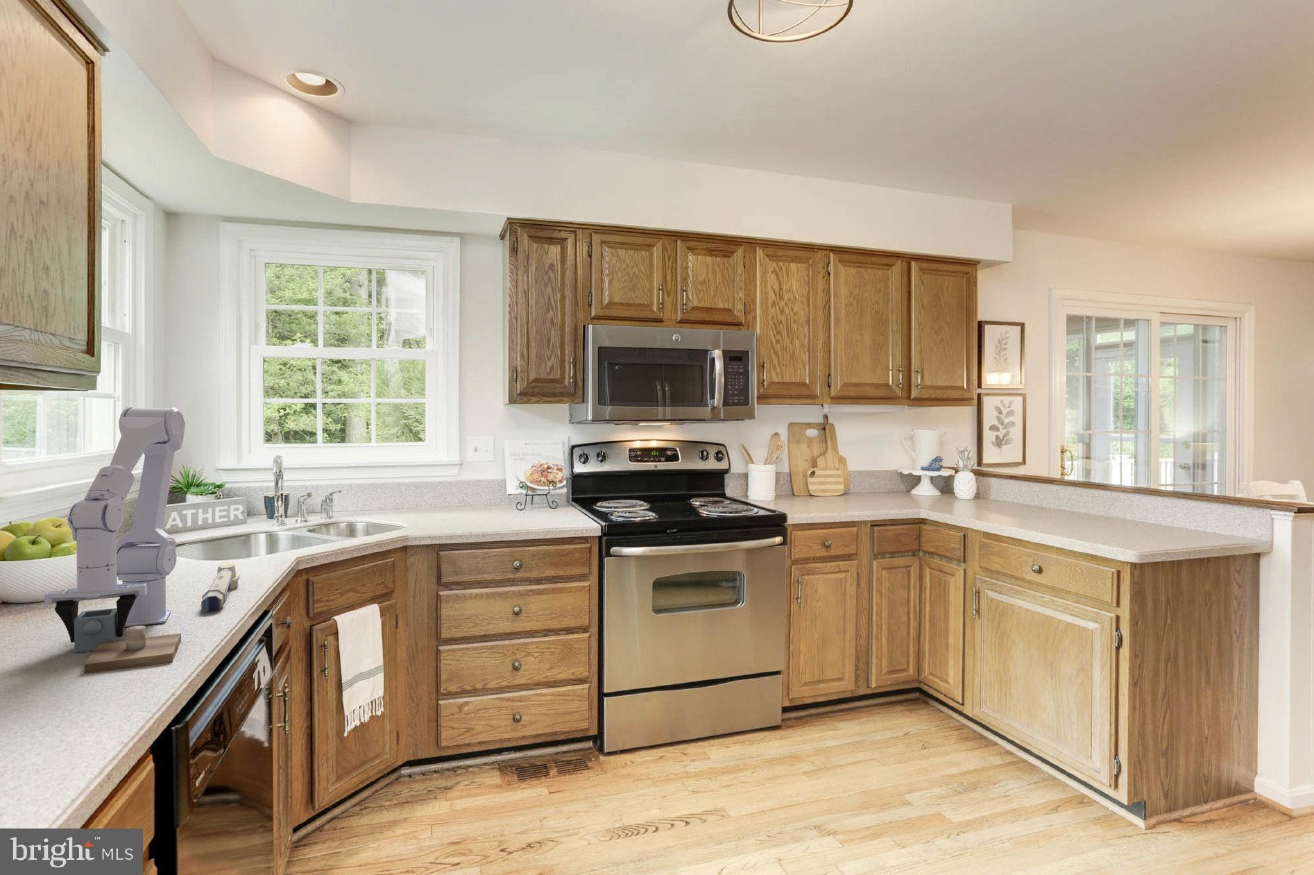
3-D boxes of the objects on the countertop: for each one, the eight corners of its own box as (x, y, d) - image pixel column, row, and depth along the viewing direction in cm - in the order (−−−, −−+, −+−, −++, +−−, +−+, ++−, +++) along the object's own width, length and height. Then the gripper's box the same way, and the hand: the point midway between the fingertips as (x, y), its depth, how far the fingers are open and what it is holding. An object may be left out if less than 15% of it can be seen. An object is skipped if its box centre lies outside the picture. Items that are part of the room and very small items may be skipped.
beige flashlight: (196, 596, 147) (215, 557, 169) (197, 625, 148) (216, 583, 171) (225, 594, 149) (240, 556, 172) (226, 623, 150) (241, 581, 173)
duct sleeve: (82, 643, 128) (81, 611, 128) (119, 638, 130) (119, 607, 130) (71, 656, 121) (71, 622, 121) (111, 651, 124) (111, 618, 124)
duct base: (100, 650, 124) (100, 623, 124) (181, 641, 130) (180, 614, 130) (84, 673, 114) (84, 643, 113) (172, 661, 119) (172, 633, 119)
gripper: (38, 573, 119) (39, 650, 120) (142, 565, 126) (142, 638, 127) (50, 565, 125) (51, 638, 126) (148, 558, 132) (149, 628, 133)
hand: (97, 638), depth 127 cm, fingers open, 6 cm apart
